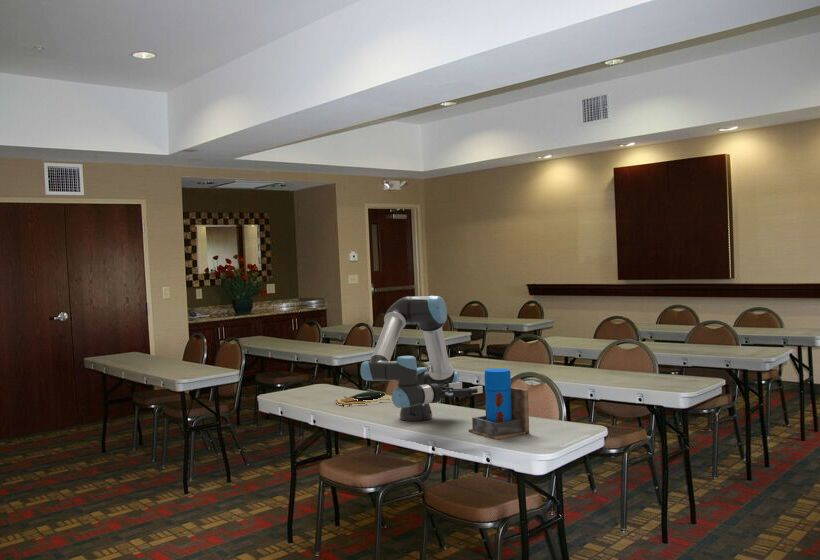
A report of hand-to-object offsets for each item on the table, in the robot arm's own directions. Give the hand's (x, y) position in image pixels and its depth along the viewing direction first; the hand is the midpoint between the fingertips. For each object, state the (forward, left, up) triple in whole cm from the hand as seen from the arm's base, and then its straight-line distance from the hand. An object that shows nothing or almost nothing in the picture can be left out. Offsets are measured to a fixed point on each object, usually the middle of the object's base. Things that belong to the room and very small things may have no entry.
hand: (471, 387), depth 289 cm
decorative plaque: (-101, +5, -21) cm, 103 cm away
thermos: (+1, +13, -19) cm, 23 cm away
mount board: (+1, +12, -20) cm, 24 cm away
